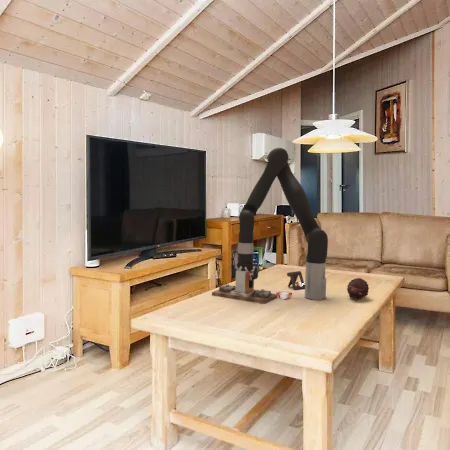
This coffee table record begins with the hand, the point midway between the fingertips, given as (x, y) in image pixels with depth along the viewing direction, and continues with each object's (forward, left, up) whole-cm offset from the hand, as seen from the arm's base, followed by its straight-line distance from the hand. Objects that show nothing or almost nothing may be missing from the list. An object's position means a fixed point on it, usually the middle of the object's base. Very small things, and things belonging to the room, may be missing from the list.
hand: (244, 286), depth 204 cm
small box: (0, 0, -3) cm, 3 cm away
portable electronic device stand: (-14, -32, -5) cm, 35 cm away
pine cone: (-47, -27, -5) cm, 54 cm away
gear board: (0, 0, -5) cm, 5 cm away
